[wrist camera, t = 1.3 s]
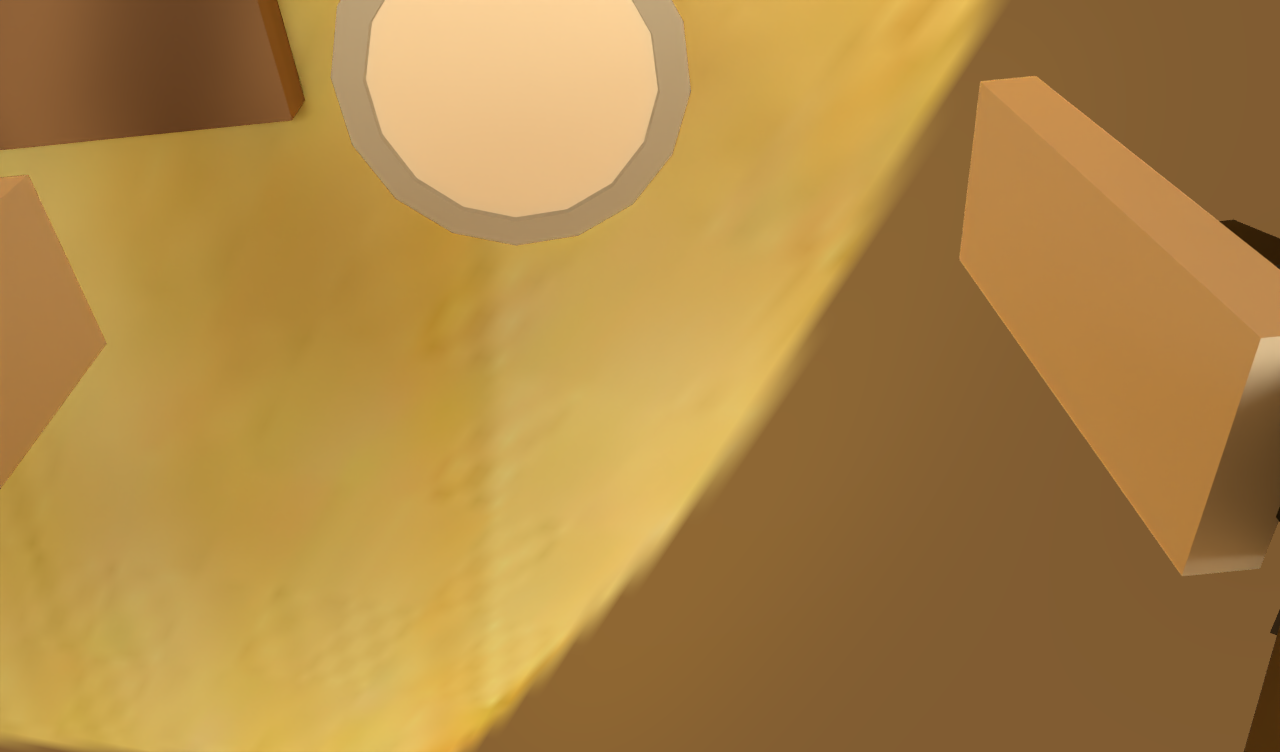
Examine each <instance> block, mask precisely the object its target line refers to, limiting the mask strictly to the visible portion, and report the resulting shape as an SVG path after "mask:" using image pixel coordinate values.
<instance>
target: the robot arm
mask: <svg viewBox="0 0 1280 752" xmlns="http://www.w3.org/2000/svg"><path fill="white" fill-rule="evenodd" d="M959 260H960V261H961V263H962V264H963V265H964V267H965V268H966V270H967V271H968V273H969V274H970V275H971V277H972V278H973V280H974V281H975V283H976V284H977V285H978V287H979V288H980V290H981V291H982V293H983V294H984V295H985V297H986V298H987V300H988V301H989V302H990V304H991V305H992V307H993V308H994V310H995V311H996V312H997V314H998V315H999V317H1000V318H1001V319H1002V321H1003V322H1004V324H1005V325H1006V327H1007V328H1008V330H1009V331H1010V332H1011V334H1012V335H1013V337H1014V338H1015V339H1016V341H1017V342H1018V344H1019V345H1020V347H1021V348H1022V350H1023V351H1024V352H1025V354H1026V355H1027V357H1028V358H1029V359H1030V361H1031V362H1032V364H1033V365H1034V366H1035V368H1036V369H1037V371H1038V372H1039V374H1040V375H1041V376H1042V378H1043V379H1044V381H1045V382H1046V384H1047V385H1048V386H1049V388H1050V389H1051V391H1052V392H1053V394H1054V395H1055V396H1056V398H1057V399H1058V401H1059V402H1060V404H1061V405H1062V406H1063V408H1064V409H1065V411H1066V412H1067V414H1068V415H1069V416H1070V418H1071V419H1072V421H1073V422H1074V423H1075V425H1076V426H1077V427H1078V429H1079V431H1080V432H1081V433H1082V435H1083V436H1084V438H1085V439H1086V441H1087V442H1088V443H1089V445H1090V446H1091V448H1092V449H1093V451H1094V452H1095V453H1096V455H1097V456H1098V458H1099V459H1100V460H1101V462H1102V463H1103V465H1104V466H1105V468H1106V469H1107V470H1108V472H1109V473H1110V475H1111V476H1112V478H1113V479H1114V480H1115V482H1116V483H1117V485H1118V486H1119V488H1120V489H1121V490H1122V492H1123V493H1124V495H1125V496H1126V497H1127V499H1128V500H1129V502H1130V503H1131V505H1132V506H1133V507H1134V509H1135V510H1136V512H1137V513H1138V515H1139V516H1140V517H1141V519H1142V520H1143V521H1144V523H1145V525H1146V526H1147V527H1148V529H1149V530H1150V532H1151V533H1152V534H1153V536H1154V537H1155V539H1156V540H1157V542H1158V543H1159V544H1160V546H1161V547H1162V549H1163V550H1164V552H1165V553H1166V554H1167V556H1168V557H1169V559H1170V560H1171V561H1172V563H1173V564H1174V566H1175V567H1176V569H1177V570H1178V571H1179V573H1180V574H1181V576H1188V575H1199V574H1208V573H1219V572H1229V571H1239V570H1249V569H1258V568H1260V567H1261V564H1262V561H1263V559H1264V557H1265V554H1266V552H1267V549H1268V547H1269V544H1270V542H1271V539H1272V536H1273V534H1274V531H1275V529H1276V526H1277V524H1278V521H1279V522H1280V239H1279V238H1277V237H1275V236H1272V235H1270V234H1267V233H1265V232H1262V231H1260V230H1257V229H1255V228H1253V227H1250V226H1248V225H1245V224H1243V223H1240V222H1237V221H1236V220H1227V221H1218V220H1217V219H1215V218H1214V217H1213V216H1212V215H1210V214H1209V213H1208V212H1206V211H1205V210H1204V209H1203V208H1201V207H1200V206H1199V205H1198V204H1196V203H1195V202H1194V201H1193V200H1191V199H1190V198H1189V197H1188V196H1186V195H1185V194H1184V193H1183V192H1181V191H1180V190H1179V189H1177V188H1176V187H1175V186H1174V185H1173V184H1171V183H1170V182H1169V181H1167V180H1166V179H1165V178H1164V177H1162V176H1161V175H1160V174H1159V173H1157V172H1156V171H1155V170H1154V169H1152V168H1151V167H1150V166H1149V165H1147V164H1146V163H1145V162H1144V161H1142V160H1141V159H1140V158H1138V157H1137V156H1136V155H1134V154H1133V153H1132V152H1131V151H1130V150H1128V149H1127V148H1126V147H1124V146H1123V145H1122V144H1121V143H1120V142H1118V141H1117V140H1116V139H1115V138H1113V137H1112V136H1111V135H1110V134H1108V133H1107V132H1106V131H1104V130H1103V129H1102V128H1101V127H1099V126H1098V125H1097V124H1096V123H1094V122H1093V121H1092V120H1090V119H1089V118H1088V117H1087V116H1086V115H1084V114H1083V113H1082V112H1080V111H1079V110H1078V109H1077V108H1075V107H1074V106H1073V105H1072V104H1070V103H1069V102H1068V101H1066V100H1065V99H1064V98H1063V97H1061V96H1060V95H1059V94H1058V93H1057V92H1055V91H1054V90H1053V89H1051V88H1050V87H1049V86H1048V85H1047V84H1045V83H1044V82H1043V81H1041V80H1040V79H1039V78H1038V77H1036V76H1030V77H1019V78H1009V79H999V80H990V81H980V88H979V97H978V105H977V113H976V123H975V130H974V139H973V147H972V156H971V164H970V173H969V181H968V190H967V198H966V206H965V215H964V223H963V231H962V240H961V249H960V257H959ZM105 345H106V341H105V339H104V337H103V335H102V333H101V331H100V329H99V326H98V324H97V322H96V320H95V318H94V316H93V313H92V311H91V309H90V307H89V305H88V303H87V300H86V298H85V296H84V294H83V292H82V290H81V288H80V285H79V283H78V281H77V279H76V277H75V275H74V272H73V270H72V268H71V266H70V264H69V262H68V259H67V257H66V255H65V253H64V251H63V249H62V247H61V244H60V242H59V240H58V238H57V236H56V234H55V231H54V229H53V227H52V225H51V223H50V221H49V218H48V216H47V214H46V212H45V210H44V208H43V205H42V203H41V201H40V199H39V197H38V195H37V193H36V190H35V188H34V186H33V184H32V182H31V180H30V177H29V175H22V176H11V177H1V178H0V489H1V487H2V486H3V485H4V483H5V482H6V481H7V479H8V478H9V477H10V475H11V474H12V472H13V471H14V470H15V468H16V467H17V466H18V464H19V463H20V461H21V460H22V459H23V457H24V456H25V455H26V453H27V452H28V450H29V449H30V448H31V446H32V445H33V444H34V442H35V441H36V440H37V438H38V437H39V435H40V434H41V433H42V431H43V430H44V429H45V427H46V426H47V424H48V423H49V422H50V420H51V419H52V418H53V416H54V415H55V413H56V412H57V411H58V409H59V408H60V407H61V405H62V404H63V403H64V401H65V400H66V398H67V397H68V396H69V394H70V393H71V392H72V390H73V389H74V387H75V386H76V385H77V383H78V382H79V381H80V379H81V378H82V376H83V375H84V374H85V372H86V371H87V370H88V368H89V367H90V366H91V364H92V363H93V361H94V360H95V359H96V357H97V356H98V355H99V353H100V352H101V350H102V349H103V348H104V346H105ZM1270 633H1272V634H1275V635H1277V637H1276V641H1275V644H1274V648H1273V651H1272V654H1271V658H1270V661H1269V665H1268V669H1267V672H1266V676H1265V679H1264V683H1263V686H1262V690H1261V693H1260V697H1259V700H1258V704H1257V707H1256V711H1255V714H1254V718H1253V721H1252V725H1251V728H1250V732H1249V735H1248V739H1247V742H1246V746H1245V749H1244V752H1280V610H1279V613H1278V615H1277V618H1276V620H1275V622H1274V625H1273V627H1272V629H1271V632H1270Z"/></svg>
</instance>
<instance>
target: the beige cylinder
mask: <svg viewBox="0 0 1280 752" xmlns="http://www.w3.org/2000/svg"><path fill="white" fill-rule="evenodd" d="M331 80H332V83H333V86H334V89H335V92H336V96H337V99H338V102H339V105H340V108H341V111H342V114H343V117H344V121H345V124H346V127H347V130H348V133H349V136H350V139H351V142H352V145H353V146H354V148H355V149H356V150H357V151H358V153H359V154H360V155H361V156H362V158H363V159H364V160H365V161H366V163H367V164H368V165H369V166H370V168H371V169H372V170H373V171H374V173H375V174H376V175H377V176H378V177H379V179H380V180H381V181H382V182H383V184H384V185H385V186H386V187H387V189H388V190H389V191H390V192H391V194H392V195H393V196H394V197H395V199H397V200H399V201H400V202H402V203H404V204H405V205H407V206H409V207H410V208H412V209H414V210H415V211H417V212H419V213H420V214H422V215H424V216H425V217H427V218H429V219H430V220H432V221H434V222H435V223H437V224H439V225H440V226H442V227H444V228H445V229H447V230H449V231H450V232H452V233H456V234H461V235H466V236H471V237H476V238H481V239H486V240H491V241H496V242H502V243H507V244H512V245H521V244H528V243H534V242H540V241H547V240H553V239H559V238H566V237H572V236H578V235H580V234H582V233H584V232H585V231H587V230H589V229H591V228H592V227H594V226H596V225H598V224H599V223H601V222H603V221H605V220H606V219H608V218H610V217H612V216H613V215H615V214H617V213H618V212H620V211H622V210H624V209H625V208H627V207H629V206H631V205H632V204H633V203H634V202H635V201H636V200H637V198H638V197H639V196H640V195H641V193H642V192H643V191H644V190H645V188H646V187H647V186H648V184H649V183H650V182H651V181H652V179H653V178H654V177H655V176H656V174H657V173H658V172H659V171H660V169H661V168H662V167H663V166H664V164H665V163H666V162H667V161H668V159H669V158H670V157H671V156H672V154H673V150H674V147H675V144H676V140H677V137H678V133H679V130H680V126H681V123H682V120H683V116H684V113H685V109H686V106H687V102H688V99H689V95H690V92H691V88H690V79H689V69H688V60H687V51H686V42H685V33H684V23H683V20H682V18H681V16H680V14H679V12H678V11H677V9H676V7H675V5H674V3H673V2H672V0H340V2H339V4H338V6H337V13H336V25H335V36H334V48H333V59H332V71H331Z"/></svg>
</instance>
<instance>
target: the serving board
mask: <svg viewBox="0 0 1280 752" xmlns="http://www.w3.org/2000/svg"><path fill="white" fill-rule="evenodd" d="M304 101H305V99H304V95H303V92H302V88H301V85H300V81H299V78H298V74H297V70H296V67H295V63H294V60H293V56H292V53H291V49H290V45H289V42H288V38H287V35H286V31H285V28H284V24H283V20H282V17H281V13H280V10H279V6H278V3H277V0H0V150H6V149H16V148H26V147H35V146H45V145H55V144H65V143H74V142H84V141H94V140H104V139H114V138H123V137H133V136H143V135H153V134H162V133H172V132H182V131H192V130H201V129H211V128H221V127H231V126H241V125H250V124H260V123H270V122H280V121H289V120H293V118H294V116H295V115H296V113H297V112H298V110H299V109H300V107H301V105H302V104H303V102H304Z"/></svg>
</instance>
